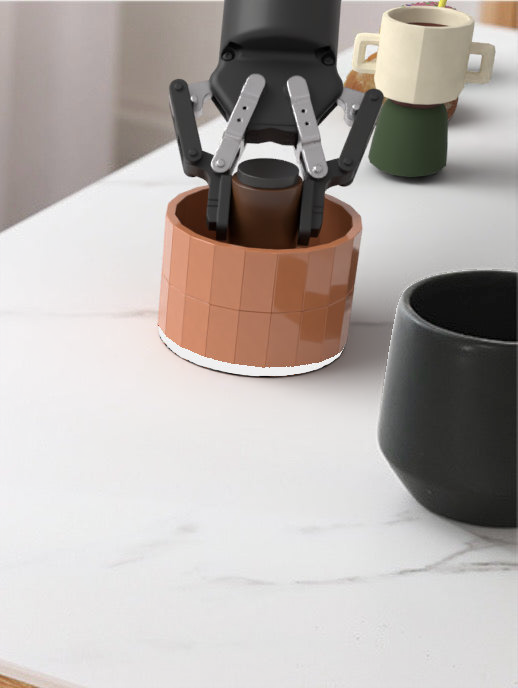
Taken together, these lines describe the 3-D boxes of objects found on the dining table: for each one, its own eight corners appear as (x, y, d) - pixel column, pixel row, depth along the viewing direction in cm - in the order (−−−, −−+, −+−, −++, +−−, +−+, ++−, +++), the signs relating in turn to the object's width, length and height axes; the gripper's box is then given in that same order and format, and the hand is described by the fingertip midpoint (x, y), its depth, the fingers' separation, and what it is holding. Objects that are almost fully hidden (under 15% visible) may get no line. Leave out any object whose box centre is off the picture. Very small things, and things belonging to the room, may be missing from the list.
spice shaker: (291, 280, 104) (304, 158, 100) (291, 308, 100) (304, 182, 96) (223, 275, 105) (233, 154, 101) (221, 303, 101) (231, 178, 97)
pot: (342, 304, 108) (358, 187, 104) (348, 385, 97) (366, 259, 93) (164, 290, 110) (172, 175, 106) (151, 368, 100) (160, 244, 96)
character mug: (476, 165, 132) (502, 11, 126) (470, 193, 126) (498, 33, 120) (344, 150, 135) (363, -1, 129) (333, 177, 130) (352, 21, 123)
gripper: (172, -37, 101) (147, 207, 96) (402, -30, 98) (387, 222, 94) (173, 23, 108) (149, 253, 103) (387, 32, 105) (372, 268, 101)
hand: (262, 237), depth 99 cm, fingers closed on spice shaker, 4 cm apart
